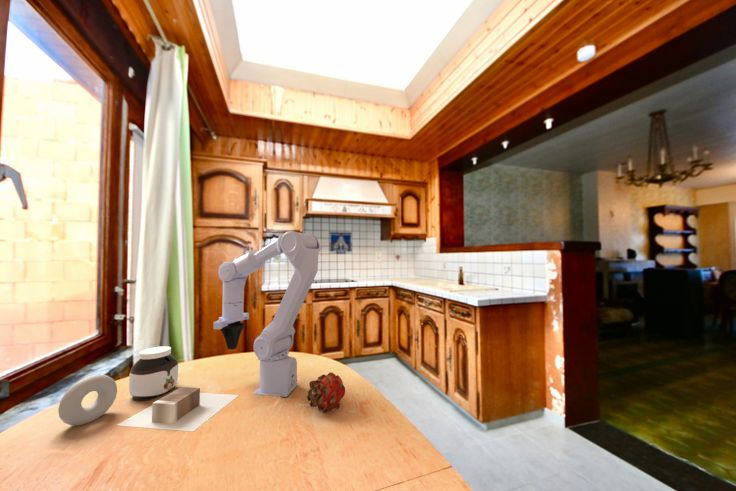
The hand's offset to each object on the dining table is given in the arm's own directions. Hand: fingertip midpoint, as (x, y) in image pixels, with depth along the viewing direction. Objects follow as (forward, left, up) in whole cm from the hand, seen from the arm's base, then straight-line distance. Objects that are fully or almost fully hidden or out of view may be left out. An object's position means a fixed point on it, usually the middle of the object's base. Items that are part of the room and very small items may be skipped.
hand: (232, 348), depth 84 cm
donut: (+18, +24, -10) cm, 31 cm away
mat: (+1, +17, -9) cm, 19 cm away
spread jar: (+17, +9, -10) cm, 22 cm away
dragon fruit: (-32, +11, -10) cm, 35 cm away
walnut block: (+1, +15, -7) cm, 17 cm away
